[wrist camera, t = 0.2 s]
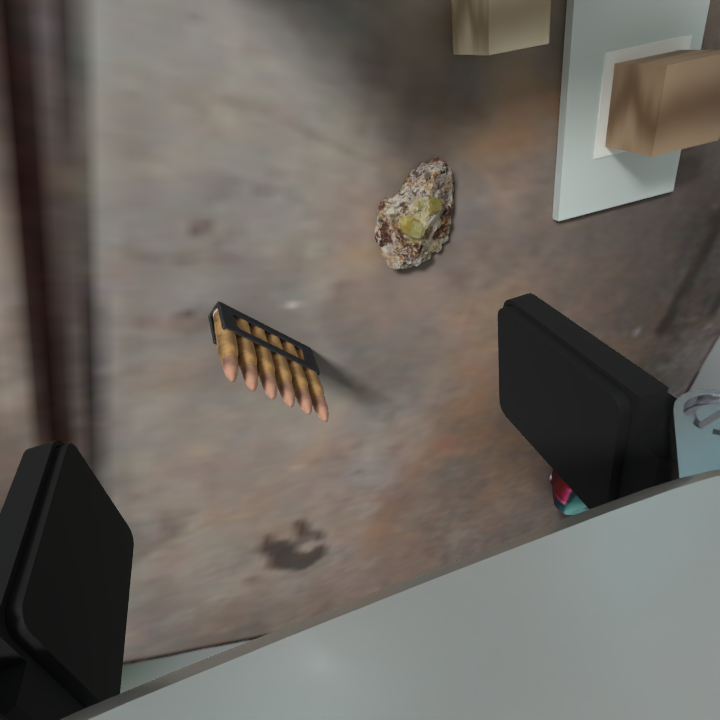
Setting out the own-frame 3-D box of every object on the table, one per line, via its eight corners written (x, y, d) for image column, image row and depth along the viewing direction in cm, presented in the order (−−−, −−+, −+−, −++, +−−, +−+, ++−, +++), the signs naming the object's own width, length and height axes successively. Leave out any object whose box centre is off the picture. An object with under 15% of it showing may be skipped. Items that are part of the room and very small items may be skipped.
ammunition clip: (311, 348, 53) (341, 416, 43) (301, 362, 53) (328, 432, 43) (218, 300, 47) (228, 366, 37) (207, 316, 48) (215, 385, 38)
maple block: (450, -20, 40) (488, -29, 35) (507, -29, 41) (553, -40, 36) (453, 54, 43) (488, 55, 38) (507, 44, 43) (548, 43, 38)
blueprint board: (567, -17, 42) (577, -19, 41) (708, -42, 45) (720, -44, 44) (552, 218, 53) (559, 221, 52) (665, 188, 56) (674, 191, 55)
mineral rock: (439, 284, 51) (380, 271, 46) (413, 268, 54) (355, 254, 49) (487, 178, 47) (429, 151, 42) (456, 167, 50) (398, 140, 45)
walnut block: (614, 63, 46) (667, 65, 41) (680, 49, 47) (739, 49, 42) (605, 146, 49) (652, 156, 45) (666, 131, 51) (718, 140, 46)
